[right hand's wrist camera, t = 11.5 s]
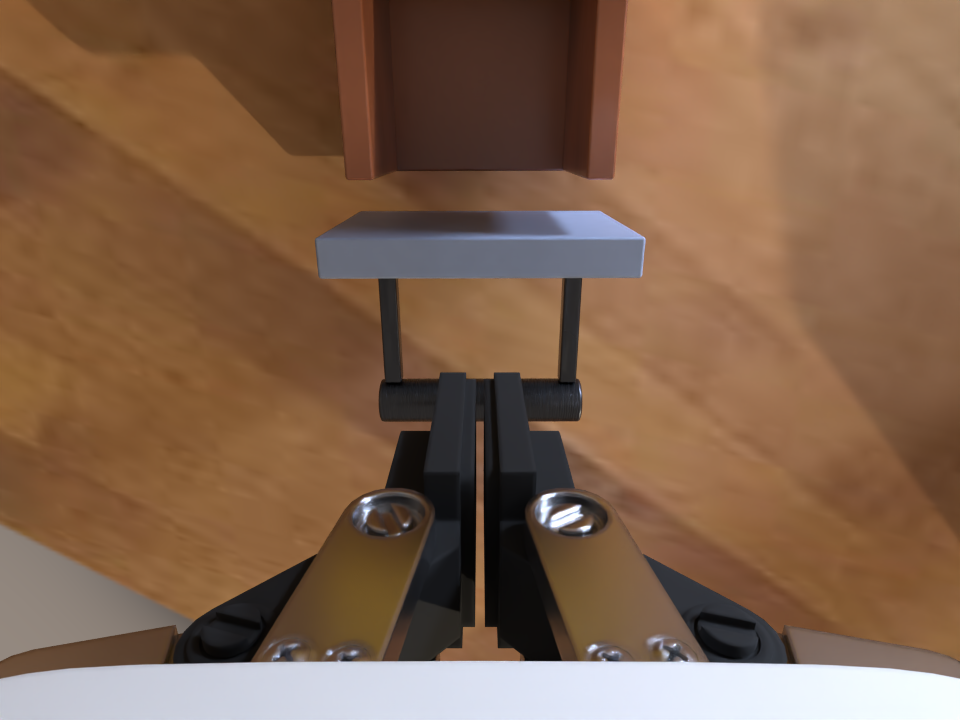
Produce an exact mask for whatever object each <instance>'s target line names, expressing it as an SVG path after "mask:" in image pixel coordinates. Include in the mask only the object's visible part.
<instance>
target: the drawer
mask: <svg viewBox="0 0 960 720" xmlns="http://www.w3.org/2000/svg"><path fill="white" fill-rule="evenodd" d="M331 2H332V15H333V27H334V39H335V52H336V64H337V76H338V89H339V101H340V114H341V126H342V138H343V151H344V163H345V176H346V179H347V180H373V179H375V178H378V177H381V176H383V175H386V174H389V173H391V172H394V171H567V172H570V173H572V174H575V175H578V176H581V177H583V178H586V179H613V178H614V176H615V163H616V150H617V137H618V124H619V111H620V98H621V85H622V72H623V59H624V46H625V33H626V20H627V7H628V0H331ZM315 246H316V256H317V265H318V275H319V278H322V279H365V278H378V281H379V296H380V311H381V326H382V342H383V357H384V372H385V379H383V380H382V381H381V384H380V389H379V413H380V418H381V420H382V421H384V422H432V419H433V413H434V407H435V401H436V395H437V389H438V384H439V379H402V378H403V363H402V344H401V325H400V307H399V288H398V278H562V298H561V318H560V338H559V359H558V379H521V384H522V389H523V395H524V401H525V407H526V413H527V419H528V421H579V420H580V417H581V413H582V389H581V384H580V381H579V379H576V369H577V353H578V337H579V321H580V304H581V288H582V278H640V277H641V276H642V269H643V259H644V249H645V238H644V237H643V236H641V235H639V234H638V233H636V232H634V231H633V230H631V229H629V228H628V227H626V226H624V225H622V224H621V223H619V222H617V221H616V220H614V219H612V218H611V217H609V216H607V215H606V214H604V213H602V212H601V211H361V212H359V213H357V214H356V215H354V216H352V217H350V218H349V219H347V220H345V221H344V222H342V223H340V224H339V225H337V226H335V227H334V228H332V229H330V230H329V231H327V232H325V233H324V234H322V235H320V236H319V237H317V238H316V239H315ZM476 421H484V379H476Z"/></svg>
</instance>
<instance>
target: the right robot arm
mask: <svg viewBox="0 0 960 720" xmlns="http://www.w3.org/2000/svg"><path fill="white" fill-rule="evenodd" d="M475 572H476V379H466V373H440V378H439V384H438V389H437V395H436V401H435V407H434V413H433V419H432V425H431V430H430V431H401V433H400V436H399V439H398V443H397V447H396V450H395V454H394V458H393V461H392V465H391V469H390V472H389V476H388V480H387V483H386V487H385V489H380V490H375V491H372V492H369V493H366V494H364V495H362V496H360V497H358V498H357V499H355V500H354V501H352V502H351V503H350V504H349V505H348V507H347V508H346V509H345V510H344V512H343V513H342V515H341V516H340V518H339V520H338V521H337V523H336V525H335V526H334V528H333V529H332V531H331V533H330V534H329V536H328V537H327V539H326V541H325V542H324V544H323V546H322V547H321V549H320V550H319V552H318V554H316V555H314V556H312V557H310V558H308V559H306V560H305V561H303V562H301V563H299V564H297V565H295V566H293V567H291V568H289V569H288V570H286V571H284V572H282V573H280V574H278V575H276V576H274V577H272V578H271V579H269V580H267V581H265V582H263V583H261V584H259V585H257V586H255V587H253V588H252V589H250V590H248V591H246V592H244V593H242V594H240V595H238V596H236V597H235V598H233V599H231V600H229V601H227V602H225V603H223V604H221V605H219V606H218V607H216V608H214V609H212V610H210V611H209V612H207V613H206V614H204V615H203V616H201V617H200V618H198V619H197V620H195V621H194V622H193V623H192V624H191V625H190V626H189V627H188V628H187V629H186V630H185V631H184V633H182V634H178V633H177V628H176V625H173V626H167V627H161V628H155V629H150V630H144V631H138V632H132V633H127V634H121V635H115V636H109V637H104V638H98V639H92V640H86V641H80V642H74V643H69V644H63V645H57V646H51V647H46V648H40V649H34V650H30V651H27V652H23V653H20V654H16V655H13V656H10V657H8V658H6V659H4V660H2V661H0V720H960V661H958V660H956V659H954V658H952V657H950V656H947V655H944V654H940V653H937V652H933V651H930V650H926V649H920V648H914V647H909V646H903V645H897V644H891V643H886V642H880V641H874V640H868V639H862V638H857V637H851V636H845V635H839V634H834V633H828V632H822V631H816V630H810V629H805V628H799V627H793V626H787V625H784V628H783V633H782V634H778V633H776V631H775V630H774V629H773V628H772V627H771V626H770V625H769V624H768V623H767V622H766V621H765V620H763V619H762V618H760V617H759V616H757V615H756V614H754V613H753V612H751V611H750V610H748V609H746V608H744V607H742V606H741V605H739V604H737V603H735V602H733V601H731V600H729V599H727V598H725V597H724V596H722V595H720V594H718V593H716V592H714V591H712V590H710V589H708V588H707V587H705V586H703V585H701V584H699V583H697V582H695V581H693V580H691V579H689V578H688V577H686V576H684V575H682V574H680V573H678V572H676V571H674V570H672V569H671V568H669V567H667V566H665V565H663V564H661V563H659V562H657V561H655V560H654V559H652V558H650V557H648V556H646V555H644V554H642V552H641V550H640V549H639V547H638V546H637V544H636V542H635V541H634V539H633V537H632V536H631V534H630V533H629V531H628V529H627V528H626V526H625V525H624V523H623V521H622V520H621V518H620V516H619V515H618V513H617V512H616V510H615V509H614V508H613V507H612V505H611V504H610V503H609V502H608V501H606V500H605V499H603V498H602V497H600V496H598V495H596V494H594V493H591V492H588V491H585V490H580V489H575V487H574V483H573V480H572V476H571V472H570V469H569V465H568V461H567V458H566V454H565V450H564V447H563V443H562V439H561V436H560V433H559V431H530V430H529V425H528V419H527V413H526V407H525V401H524V395H523V389H522V384H521V378H520V373H494V379H484V572H485V627H497V637H498V648H514V649H515V650H517V651H518V652H519V653H520V661H440V653H441V652H442V651H443V650H445V649H446V648H462V637H463V627H475Z"/></svg>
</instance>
